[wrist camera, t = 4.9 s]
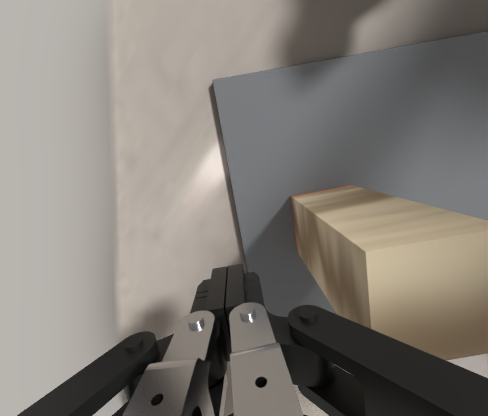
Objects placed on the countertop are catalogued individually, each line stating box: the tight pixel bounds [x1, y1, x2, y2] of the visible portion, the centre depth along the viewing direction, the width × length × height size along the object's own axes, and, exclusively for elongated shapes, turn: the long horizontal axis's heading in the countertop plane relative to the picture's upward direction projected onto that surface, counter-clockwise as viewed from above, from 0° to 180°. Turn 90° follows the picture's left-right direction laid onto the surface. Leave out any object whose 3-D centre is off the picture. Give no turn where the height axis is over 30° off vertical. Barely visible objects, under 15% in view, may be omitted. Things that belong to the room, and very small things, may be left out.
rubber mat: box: [213, 31, 488, 317], centre depth 21 cm, size 24×25×1 cm
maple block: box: [290, 185, 488, 360], centre depth 15 cm, size 5×5×12 cm
